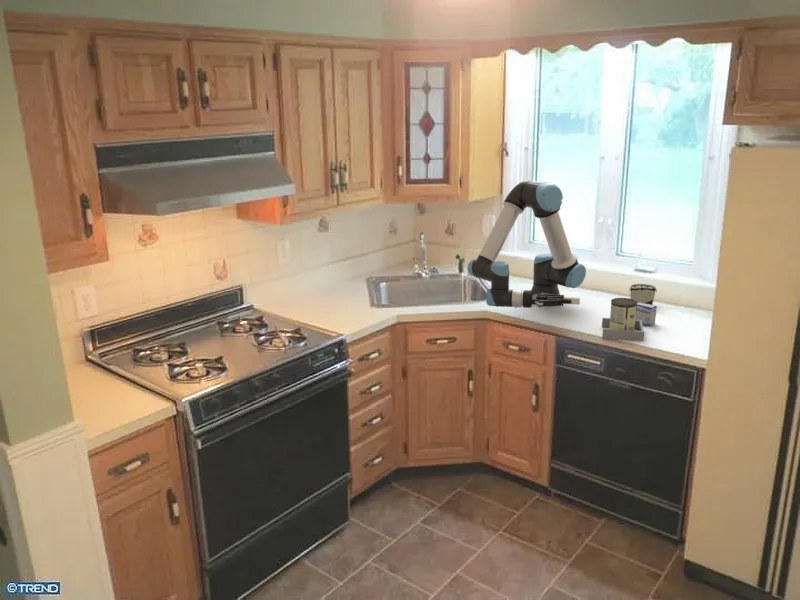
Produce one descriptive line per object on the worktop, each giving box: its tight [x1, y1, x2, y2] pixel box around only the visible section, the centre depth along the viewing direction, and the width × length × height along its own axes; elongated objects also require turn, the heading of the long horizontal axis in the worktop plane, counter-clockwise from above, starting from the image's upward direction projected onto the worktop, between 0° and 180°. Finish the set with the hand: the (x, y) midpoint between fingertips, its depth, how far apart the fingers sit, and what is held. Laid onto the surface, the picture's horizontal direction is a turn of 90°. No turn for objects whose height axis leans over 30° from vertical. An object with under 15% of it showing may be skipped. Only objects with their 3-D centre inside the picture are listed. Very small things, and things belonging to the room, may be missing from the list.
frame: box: [601, 317, 645, 342], centre depth 285 cm, size 16×15×4 cm
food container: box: [628, 283, 658, 305], centre depth 320 cm, size 12×6×10 cm, turn 84°
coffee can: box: [608, 297, 637, 331], centre depth 284 cm, size 10×10×14 cm
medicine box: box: [635, 302, 657, 327], centre depth 296 cm, size 8×4×9 cm, turn 45°
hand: (579, 301), depth 286 cm, fingers closed
